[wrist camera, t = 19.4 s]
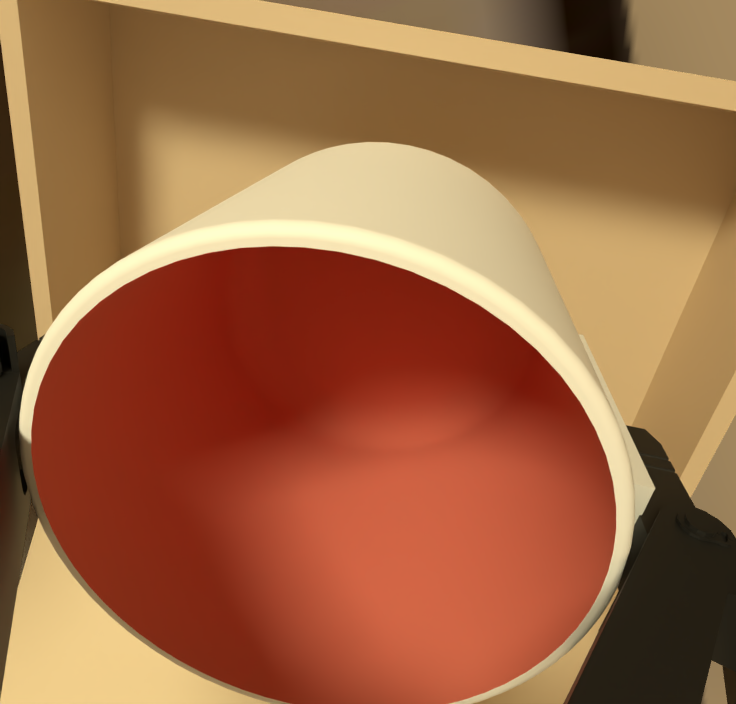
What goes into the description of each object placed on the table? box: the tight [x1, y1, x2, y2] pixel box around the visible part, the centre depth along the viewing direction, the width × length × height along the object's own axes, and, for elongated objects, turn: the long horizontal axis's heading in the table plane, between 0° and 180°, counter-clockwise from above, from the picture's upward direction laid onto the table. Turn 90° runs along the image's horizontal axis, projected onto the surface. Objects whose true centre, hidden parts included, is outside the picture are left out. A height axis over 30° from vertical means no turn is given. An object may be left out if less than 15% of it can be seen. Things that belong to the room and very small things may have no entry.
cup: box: [19, 142, 635, 704], centre depth 14 cm, size 10×10×10 cm
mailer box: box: [0, 0, 736, 498], centre depth 20 cm, size 22×16×5 cm
